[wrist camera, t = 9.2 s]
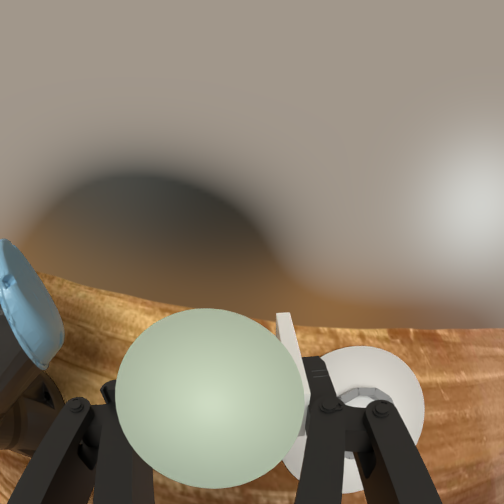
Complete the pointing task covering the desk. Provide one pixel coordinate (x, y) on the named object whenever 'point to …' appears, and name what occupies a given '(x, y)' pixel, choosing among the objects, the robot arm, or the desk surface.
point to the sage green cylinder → (209, 398)
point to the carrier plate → (367, 398)
